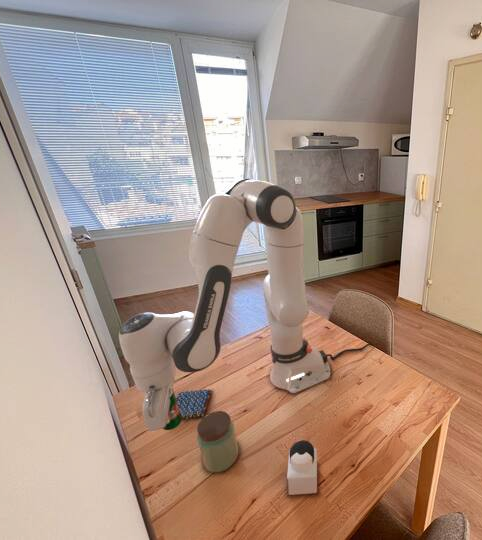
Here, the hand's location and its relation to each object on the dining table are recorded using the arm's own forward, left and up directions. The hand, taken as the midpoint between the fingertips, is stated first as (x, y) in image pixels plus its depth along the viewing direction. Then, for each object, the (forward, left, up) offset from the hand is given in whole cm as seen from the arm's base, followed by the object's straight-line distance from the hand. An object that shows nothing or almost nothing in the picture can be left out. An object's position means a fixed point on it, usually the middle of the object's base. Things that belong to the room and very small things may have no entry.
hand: (168, 411), depth 80 cm
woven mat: (-3, -13, -13) cm, 19 cm away
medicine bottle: (-32, +22, -13) cm, 41 cm away
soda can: (0, 0, -5) cm, 5 cm away
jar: (-12, +8, -13) cm, 19 cm away
